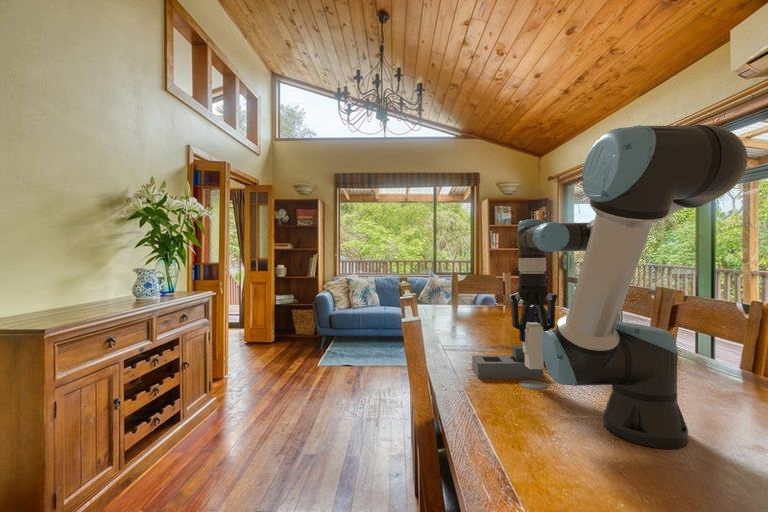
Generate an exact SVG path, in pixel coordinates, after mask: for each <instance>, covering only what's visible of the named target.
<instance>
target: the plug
mask: <svg viewBox="0 0 768 512" xmlns="http://www.w3.org/2000/svg"><path fill="white" fill-rule="evenodd" d="M525 330H527V331H528V351H529V354H525V366H526V367H528V368H529V369H543V370H544V369H545V364H544V358H543V353H542V344H541V341H542V335H543V327H541V324H539V323H537V322H527V324H526V329H525Z"/></svg>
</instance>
